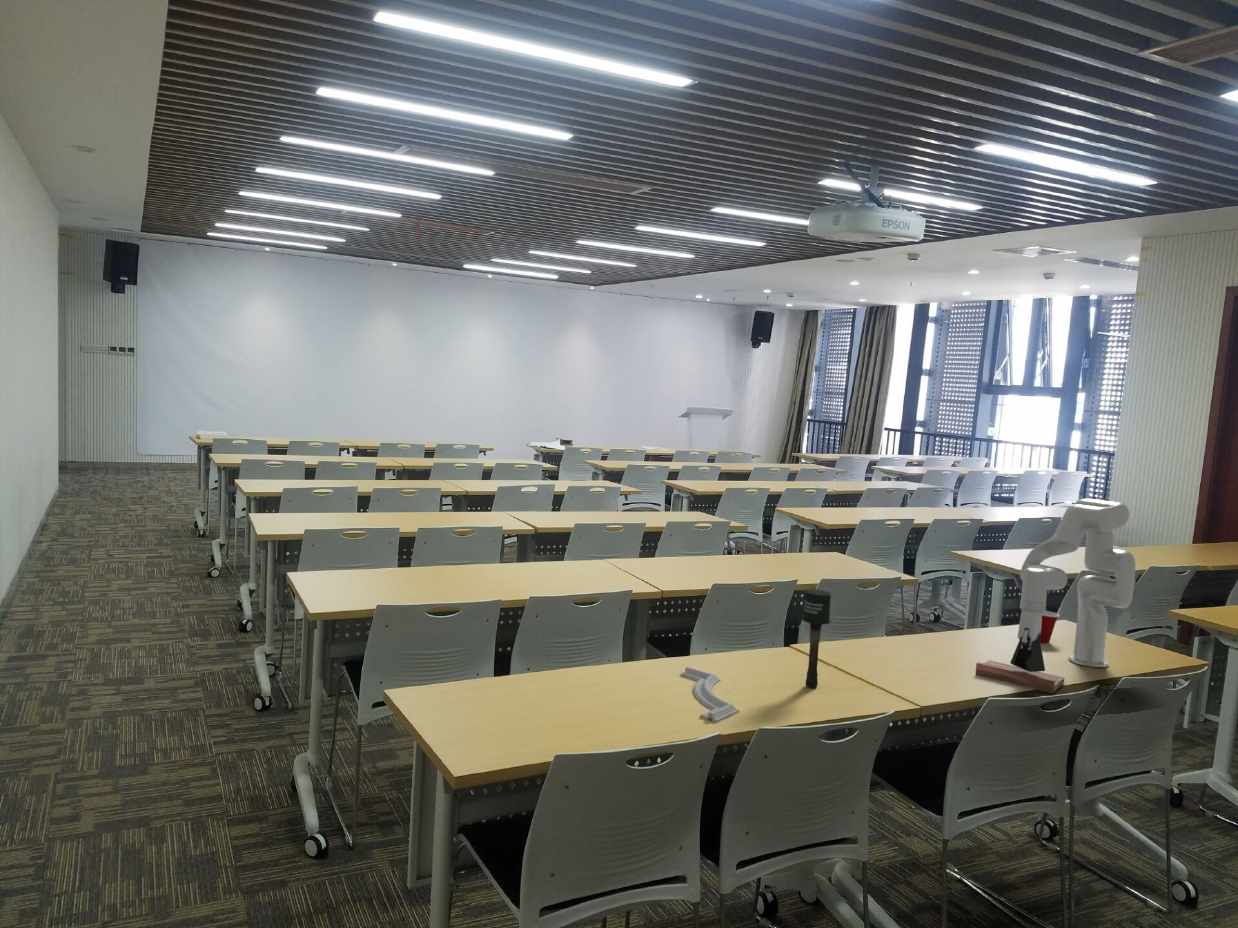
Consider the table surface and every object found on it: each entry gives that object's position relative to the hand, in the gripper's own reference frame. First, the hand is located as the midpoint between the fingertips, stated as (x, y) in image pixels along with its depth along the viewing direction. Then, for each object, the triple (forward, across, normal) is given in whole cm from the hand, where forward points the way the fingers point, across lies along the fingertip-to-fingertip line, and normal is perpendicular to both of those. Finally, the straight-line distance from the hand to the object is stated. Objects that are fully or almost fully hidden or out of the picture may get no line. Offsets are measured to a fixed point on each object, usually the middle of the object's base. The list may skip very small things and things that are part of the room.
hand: (1028, 658), depth 287 cm
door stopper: (+3, 0, 0) cm, 3 cm away
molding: (+8, +95, -66) cm, 115 cm away
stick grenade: (+7, +62, -47) cm, 78 cm away
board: (+7, +1, -2) cm, 8 cm away
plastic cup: (+8, -57, -9) cm, 59 cm away
